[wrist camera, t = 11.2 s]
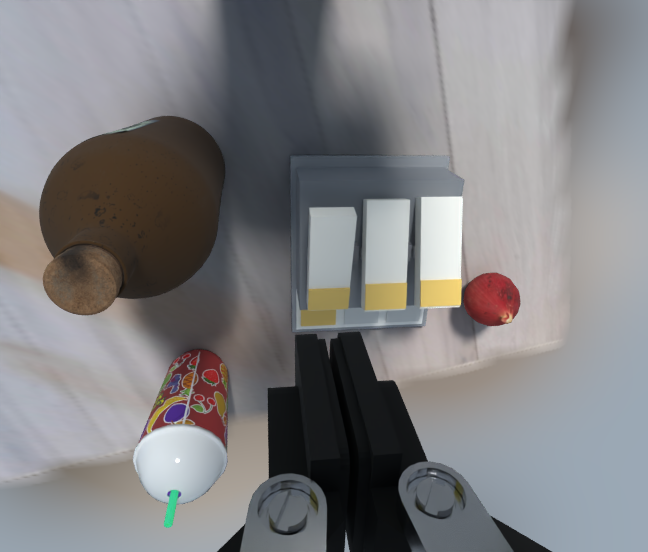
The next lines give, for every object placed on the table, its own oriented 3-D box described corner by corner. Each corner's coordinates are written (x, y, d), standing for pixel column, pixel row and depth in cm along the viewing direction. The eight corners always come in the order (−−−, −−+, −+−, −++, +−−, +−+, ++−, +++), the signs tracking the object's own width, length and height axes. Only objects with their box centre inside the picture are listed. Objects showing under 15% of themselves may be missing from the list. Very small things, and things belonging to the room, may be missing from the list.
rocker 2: (360, 198, 40) (367, 200, 38) (401, 197, 41) (410, 200, 38) (358, 303, 43) (365, 312, 40) (397, 301, 43) (405, 310, 41)
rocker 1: (308, 202, 38) (311, 218, 36) (351, 201, 38) (357, 217, 36) (305, 293, 44) (308, 312, 42) (343, 292, 44) (348, 310, 42)
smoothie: (158, 341, 51) (101, 494, 33) (232, 336, 52) (216, 483, 34) (169, 398, 54) (123, 563, 37) (238, 392, 55) (226, 551, 38)
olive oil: (254, 170, 44) (245, 288, 21) (180, 240, 46) (102, 412, 24) (169, 81, 39) (46, 113, 17) (92, 163, 42) (-106, 285, 19)
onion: (469, 255, 51) (502, 287, 44) (509, 270, 52) (548, 304, 45) (444, 297, 53) (472, 335, 46) (484, 311, 55) (517, 349, 47)
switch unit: (290, 155, 43) (294, 173, 37) (446, 155, 45) (478, 172, 39) (291, 328, 52) (295, 367, 46) (423, 322, 54) (445, 359, 48)
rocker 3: (412, 198, 42) (422, 196, 39) (450, 197, 42) (463, 196, 39) (411, 303, 43) (420, 309, 40) (448, 301, 43) (460, 307, 41)
